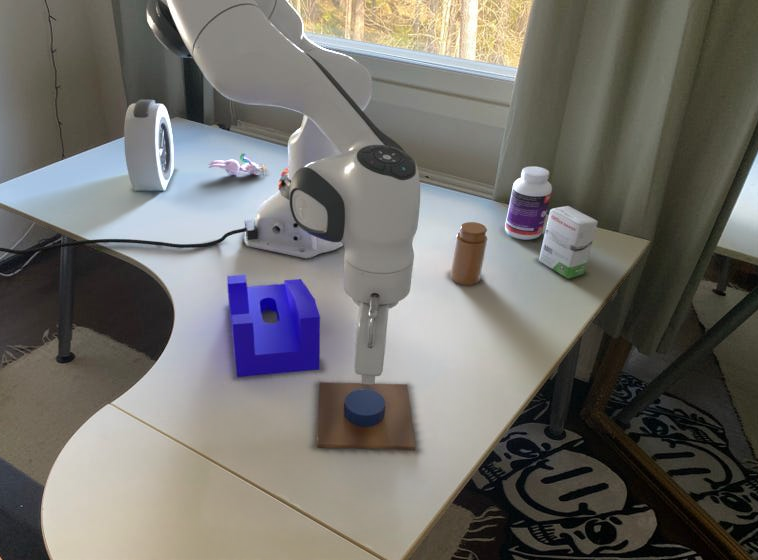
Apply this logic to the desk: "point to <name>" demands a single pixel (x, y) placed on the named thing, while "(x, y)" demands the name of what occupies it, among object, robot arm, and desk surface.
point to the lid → (364, 407)
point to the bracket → (273, 327)
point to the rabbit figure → (238, 166)
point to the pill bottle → (528, 204)
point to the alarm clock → (148, 146)
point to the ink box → (567, 241)
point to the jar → (469, 253)
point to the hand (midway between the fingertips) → (370, 360)
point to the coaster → (383, 435)
